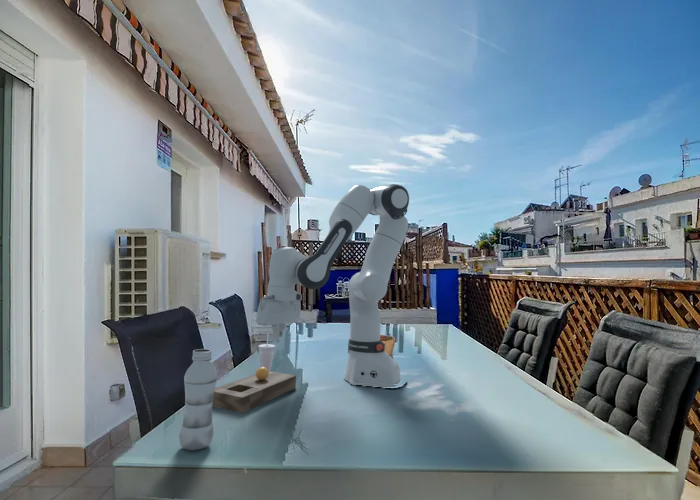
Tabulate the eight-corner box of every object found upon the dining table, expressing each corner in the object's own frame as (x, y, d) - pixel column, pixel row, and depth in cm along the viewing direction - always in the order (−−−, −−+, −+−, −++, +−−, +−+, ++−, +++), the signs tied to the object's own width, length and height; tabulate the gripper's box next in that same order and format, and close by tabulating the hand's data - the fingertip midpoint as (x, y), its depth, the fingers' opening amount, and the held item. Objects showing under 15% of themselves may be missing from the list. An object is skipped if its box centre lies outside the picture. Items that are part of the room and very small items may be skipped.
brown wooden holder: (295, 388, 123) (295, 375, 123) (241, 413, 99) (242, 397, 99) (265, 382, 128) (266, 370, 128) (207, 405, 104) (208, 390, 104)
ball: (271, 379, 117) (271, 366, 118) (263, 382, 114) (263, 369, 114) (260, 377, 119) (261, 364, 119) (252, 380, 115) (253, 367, 116)
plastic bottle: (184, 440, 82) (190, 347, 83) (216, 440, 82) (222, 348, 84) (173, 454, 75) (180, 353, 77) (208, 454, 76) (214, 354, 77)
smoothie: (276, 369, 145) (278, 333, 146) (271, 374, 139) (273, 335, 140) (260, 368, 146) (262, 332, 147) (254, 373, 139) (256, 334, 140)
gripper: (269, 296, 115) (266, 342, 114) (304, 295, 133) (302, 334, 132) (253, 295, 117) (249, 340, 116) (289, 294, 136) (287, 332, 135)
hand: (277, 337), depth 124 cm, fingers closed
